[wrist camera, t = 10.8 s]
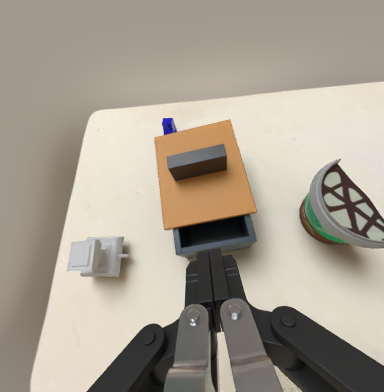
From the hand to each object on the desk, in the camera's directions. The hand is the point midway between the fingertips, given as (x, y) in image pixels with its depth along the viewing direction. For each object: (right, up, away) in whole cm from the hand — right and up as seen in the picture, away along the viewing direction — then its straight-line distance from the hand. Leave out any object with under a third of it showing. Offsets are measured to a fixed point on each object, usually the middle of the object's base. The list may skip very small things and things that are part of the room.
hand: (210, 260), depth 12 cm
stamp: (-16, -7, +24) cm, 30 cm away
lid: (0, +8, +18) cm, 20 cm away
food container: (+19, -1, +21) cm, 29 cm away
